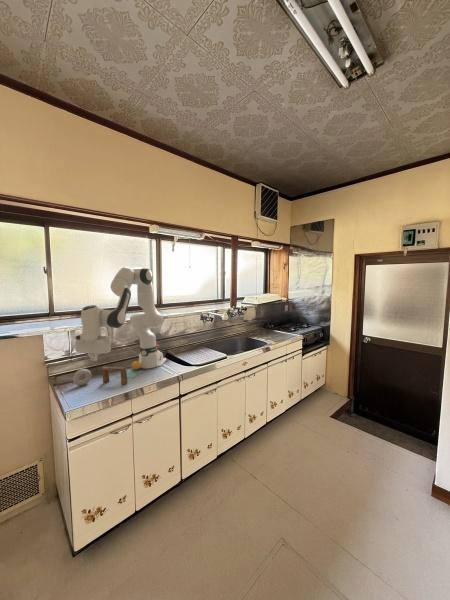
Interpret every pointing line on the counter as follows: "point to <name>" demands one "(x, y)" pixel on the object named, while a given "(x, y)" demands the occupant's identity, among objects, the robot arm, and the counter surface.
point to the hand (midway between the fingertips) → (94, 360)
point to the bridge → (121, 369)
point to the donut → (79, 373)
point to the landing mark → (132, 373)
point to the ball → (136, 365)
